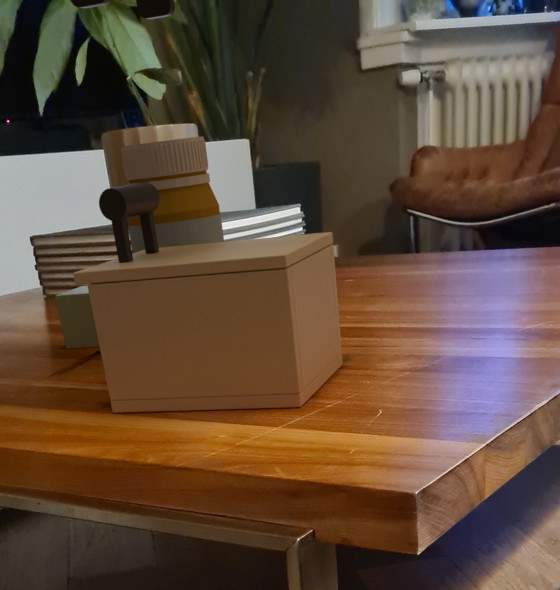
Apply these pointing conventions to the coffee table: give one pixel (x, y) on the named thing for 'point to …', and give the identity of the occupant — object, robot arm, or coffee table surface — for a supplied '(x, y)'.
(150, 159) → the bottle
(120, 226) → the lid
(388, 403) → the coffee table surface
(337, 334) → the tan open box
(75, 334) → the block
